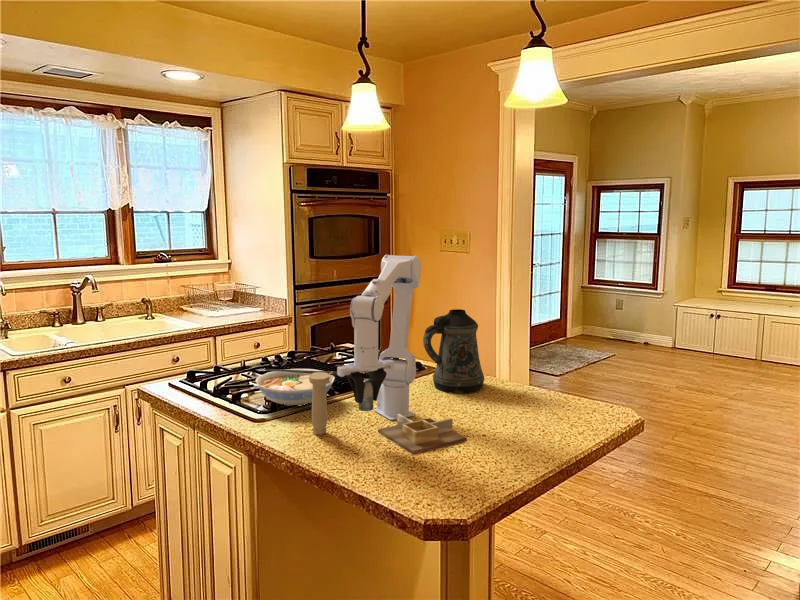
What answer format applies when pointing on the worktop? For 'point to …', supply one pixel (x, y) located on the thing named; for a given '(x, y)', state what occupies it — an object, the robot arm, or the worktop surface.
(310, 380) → the handle
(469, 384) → the beer stein
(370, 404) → the hinge pin
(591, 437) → the worktop surface
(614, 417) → the worktop surface
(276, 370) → the ramen bowl
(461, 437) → the hinge block
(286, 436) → the worktop surface
